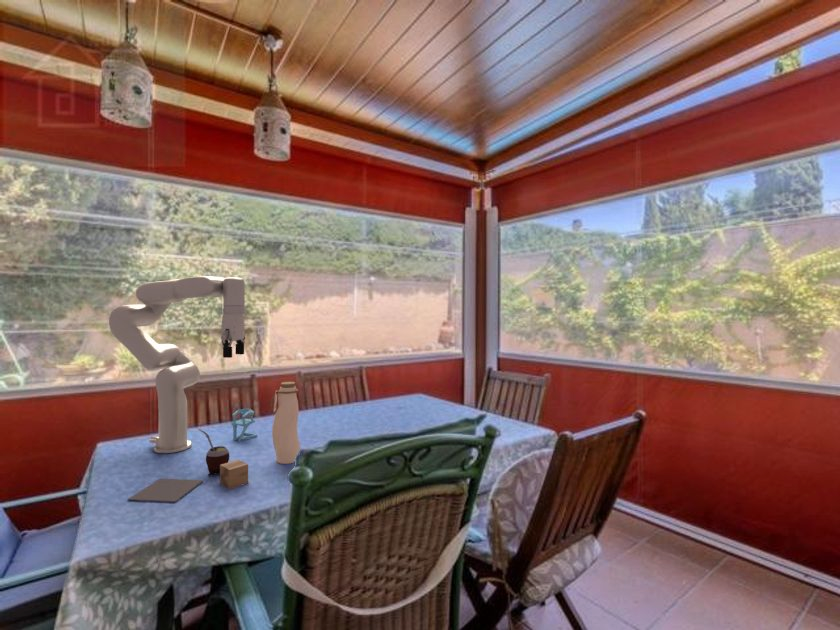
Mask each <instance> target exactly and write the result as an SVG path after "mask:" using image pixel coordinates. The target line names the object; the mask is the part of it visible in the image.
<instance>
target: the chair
mask: <svg viewBox="0 0 840 630" xmlns="http://www.w3.org/2000/svg"><path fill="white" fill-rule="evenodd" d="M238 414H241V419H239V420H237V418H236V416H237V415H238ZM254 414H255V411H254V410H253V409H251V408H247V407H246V408H243V409H242V408H241V409H238V410H236V411H235V412H234V413H232V418H233V421H232V422H231V426H232V429H233V434H232V435H233V439H232V441H233V442H236V441H240V442H243V441H246V439H247V440H250V439H254V438H257V437H258V433H250V432H246V431H247V429H248V428H249V426H250V425H252V424H254V423H256V420H255V419H254V418H253V417H254ZM249 415H251V416H250V419H248V418H247V416H249ZM238 426H240V427H242V428H243V429H242V431H241V432H240V433H239V434H238V435H237V432H238V431H237V428H238ZM243 436H244V437H243ZM235 440H236V441H235ZM242 440H243V441H242Z"/></svg>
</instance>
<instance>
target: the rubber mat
mask: <svg viewBox="0 0 840 630" xmlns="http://www.w3.org/2000/svg"><path fill="white" fill-rule="evenodd" d="M203 482H204V480H203V479H202V480H201V479H185V478H183V479H182V478H181V479H180V478H159V479H157V480H155V481H154V482H153V483H151V484H149V485H147V486H146V487H145V488H143V489H141V490H140V491H138V492H136V493H135V494H134V495H132V496H130V497H129V498H127V501H128V500H138V501H137V502H144V501H161V502H160V503H167V502H176V503H177V502H179V501H180V500H181V499H182V497H183V496H184V495H185V496H187V495H188V494H189V493H191V492H192V491H194V489H196V488H197V487H198V486H199V485H201V484H202V483H203ZM195 487H196V488H195ZM191 490H192V491H191ZM188 492H189V493H188ZM187 493H188V494H187ZM185 496H184V497H185ZM184 497H183V498H184ZM179 499H180V500H179ZM178 500H179V501H178Z"/></svg>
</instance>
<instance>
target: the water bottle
mask: <svg viewBox="0 0 840 630" xmlns="http://www.w3.org/2000/svg"><path fill="white" fill-rule="evenodd" d="M299 391H300V390H299V388H297V386H296V382H295V381H284V382H283V381H282V382H281V383H280V387H279V389H277V390H275V392H274V394H273V396H272V397H271V400H270V409H273V412H275V414H274V417H273V421H272V422H273V423H272V427H271V428H272V429H271V430H272V432H271V433H272V435H271V436H272V444H273V447H274V451H275V452H274V453H275V458H276V459H275V460H276V463H278V464H285V465H288V464H293V463H295V462H294V460H295V457H296V455H297V453H298V452H299V451H301V443H300V440H299V435H298V421H299V413H300V412H299V400H298V398H297V393H299ZM277 405H278V407H277Z"/></svg>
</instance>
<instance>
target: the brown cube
mask: <svg viewBox="0 0 840 630" xmlns="http://www.w3.org/2000/svg"><path fill="white" fill-rule="evenodd" d="M219 483H220V485H222V486H223V485H224V487H226V488H227V489H228V490H231V489H234V488H236V487H240V486H243V485H246V484H249V464H248V463H246V462H244V461H242V460H241V459H236V460H232V461H228V463H225V464H221V465H220V474H219ZM242 484H243V485H242Z"/></svg>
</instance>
